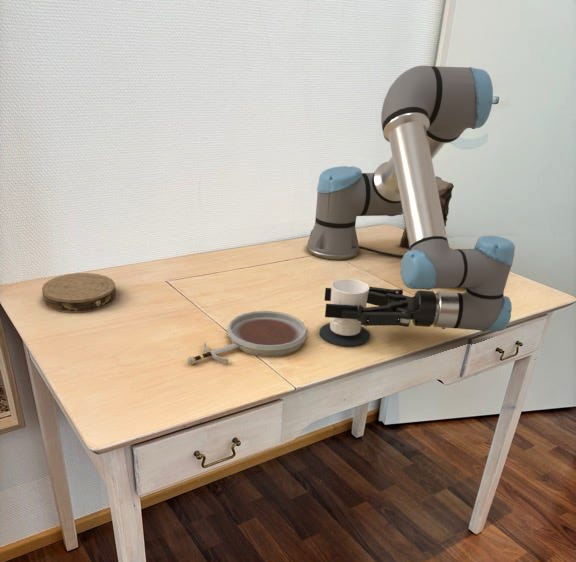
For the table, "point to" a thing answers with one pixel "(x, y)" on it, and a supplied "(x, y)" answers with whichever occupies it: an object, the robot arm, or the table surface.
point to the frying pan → (261, 335)
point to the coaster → (344, 337)
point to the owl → (444, 197)
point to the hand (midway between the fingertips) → (325, 302)
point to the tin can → (79, 292)
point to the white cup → (348, 295)
